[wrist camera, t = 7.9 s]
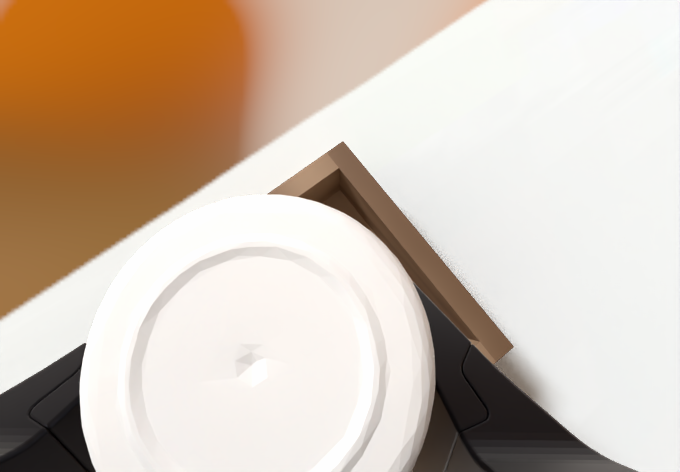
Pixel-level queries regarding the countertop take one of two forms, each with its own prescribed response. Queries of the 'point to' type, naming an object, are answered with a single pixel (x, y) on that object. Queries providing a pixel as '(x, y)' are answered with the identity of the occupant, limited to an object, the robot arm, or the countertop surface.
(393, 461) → the sprinkles bottle
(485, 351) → the walnut crate
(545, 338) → the countertop surface
